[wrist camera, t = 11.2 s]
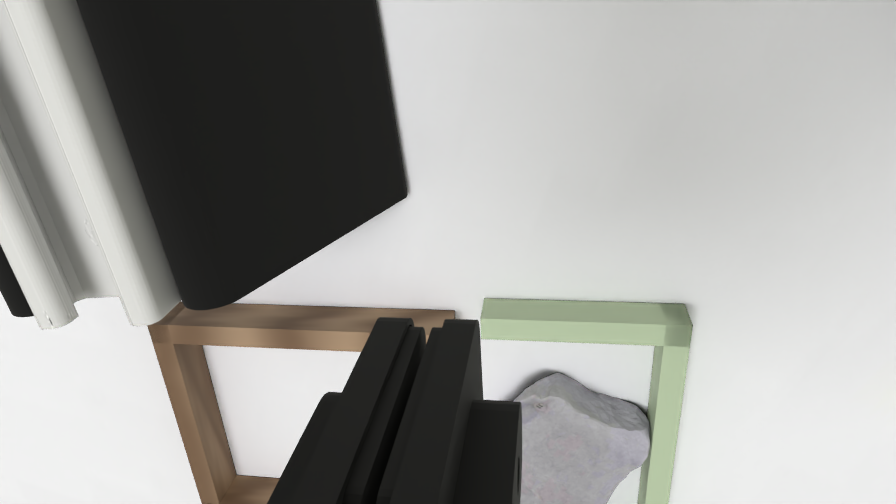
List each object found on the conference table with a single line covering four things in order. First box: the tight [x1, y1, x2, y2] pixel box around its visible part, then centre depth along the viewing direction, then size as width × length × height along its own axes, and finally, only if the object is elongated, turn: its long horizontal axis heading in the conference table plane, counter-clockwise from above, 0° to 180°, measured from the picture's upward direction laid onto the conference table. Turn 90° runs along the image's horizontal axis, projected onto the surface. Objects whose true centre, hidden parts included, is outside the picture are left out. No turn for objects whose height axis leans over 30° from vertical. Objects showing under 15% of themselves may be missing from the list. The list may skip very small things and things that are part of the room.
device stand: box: [0, 0, 407, 329], centre depth 29 cm, size 22×22×15 cm
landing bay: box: [481, 298, 693, 504], centre depth 43 cm, size 12×20×2 cm, turn 3°
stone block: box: [514, 373, 650, 504], centre depth 44 cm, size 12×5×10 cm
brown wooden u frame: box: [147, 302, 455, 504], centre depth 46 cm, size 20×18×3 cm
